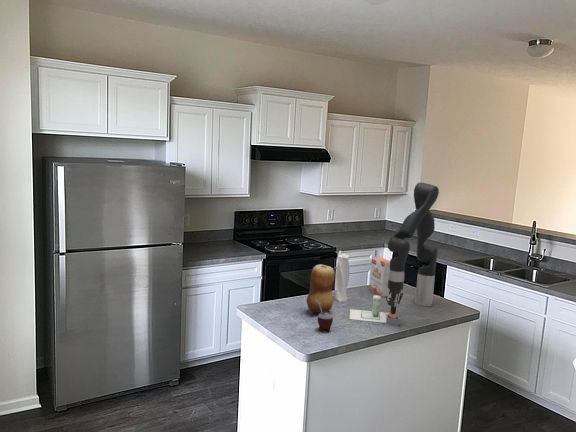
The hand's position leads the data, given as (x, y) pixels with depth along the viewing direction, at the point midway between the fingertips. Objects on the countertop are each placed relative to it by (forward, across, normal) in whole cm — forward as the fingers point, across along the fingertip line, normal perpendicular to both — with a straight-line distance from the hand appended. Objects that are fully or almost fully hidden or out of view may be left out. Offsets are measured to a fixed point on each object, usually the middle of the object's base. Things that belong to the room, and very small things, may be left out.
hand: (393, 313), depth 233 cm
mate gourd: (+6, -33, +16) cm, 38 cm away
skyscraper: (+5, +7, +37) cm, 38 cm away
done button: (+3, 0, 0) cm, 3 cm away
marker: (+4, 0, +10) cm, 11 cm away
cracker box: (+5, +37, +31) cm, 49 cm away
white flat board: (+5, -1, +10) cm, 12 cm away
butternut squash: (+5, -18, +32) cm, 37 cm away
